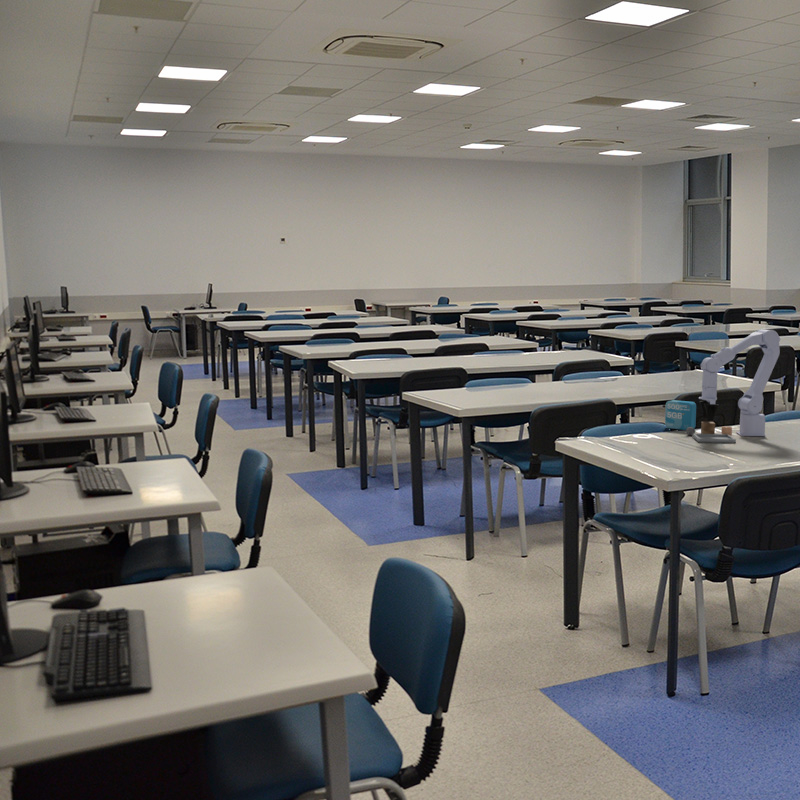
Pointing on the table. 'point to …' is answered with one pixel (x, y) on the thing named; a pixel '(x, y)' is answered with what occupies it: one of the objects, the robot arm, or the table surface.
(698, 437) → the tray
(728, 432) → the peach rounded tapered piece
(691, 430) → the rubber ball
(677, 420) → the data package
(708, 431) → the walnut block
